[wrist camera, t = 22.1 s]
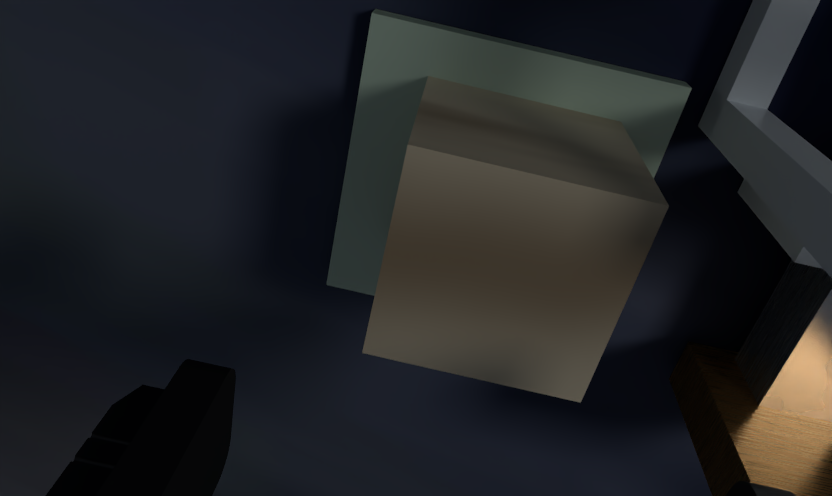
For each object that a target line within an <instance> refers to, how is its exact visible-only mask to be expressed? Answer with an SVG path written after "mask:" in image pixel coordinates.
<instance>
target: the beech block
mask: <svg viewBox="0 0 832 496" xmlns="http://www.w3.org/2000/svg"><path fill="white" fill-rule="evenodd" d="M668 207H669V205H668V203H667V201H666V200H665V198H664V196H663V194H662V193H661V191H660V189H659V187H658V186H657V184H656V182H655V180H654V179H653V177H652V175H651V173H650V172H649V170H648V168H647V166H646V165H645V163H644V161H643V159H642V158H641V156H640V154H639V152H638V151H637V149H636V147H635V145H634V144H633V142H632V140H631V138H630V137H629V135H628V133H627V131H626V130H625V128H624V126H623V124H622V122H620V121H616V120H611V119H607V118H603V117H599V116H595V115H590V114H586V113H582V112H578V111H574V110H569V109H565V108H561V107H557V106H553V105H548V104H544V103H540V102H536V101H532V100H527V99H523V98H519V97H515V96H511V95H506V94H502V93H498V92H494V91H490V90H485V89H481V88H477V87H473V86H469V85H464V84H460V83H456V82H452V81H448V80H443V79H439V78H435V77H431V76H428V78H427V82H426V85H425V88H424V92H423V95H422V98H421V102H420V105H419V108H418V112H417V115H416V118H415V122H414V125H413V128H412V132H411V135H410V138H409V142H408V145H407V150H406V155H405V159H404V164H403V168H402V173H401V177H400V182H399V187H398V191H397V196H396V200H395V205H394V210H393V214H392V219H391V223H390V228H389V232H388V237H387V242H386V246H385V251H384V255H383V260H382V265H381V269H380V274H379V278H378V283H377V287H376V292H375V297H374V301H373V306H372V310H371V315H370V320H369V324H368V329H367V333H366V338H365V343H364V347H363V352H362V353H365V354H369V355H374V356H378V357H382V358H387V359H391V360H396V361H400V362H404V363H409V364H413V365H418V366H422V367H426V368H431V369H435V370H439V371H444V372H448V373H453V374H457V375H461V376H466V377H470V378H475V379H479V380H483V381H488V382H492V383H496V384H501V385H505V386H510V387H514V388H518V389H523V390H527V391H532V392H536V393H540V394H545V395H549V396H553V397H558V398H562V399H567V400H571V401H575V402H580V403H581V401H582V399H583V396H584V394H585V392H586V390H587V388H588V385H589V383H590V381H591V379H592V376H593V374H594V372H595V370H596V368H597V365H598V363H599V361H600V359H601V356H602V354H603V352H604V350H605V348H606V345H607V343H608V341H609V339H610V336H611V334H612V332H613V330H614V327H615V325H616V323H617V321H618V319H619V316H620V314H621V312H622V310H623V307H624V305H625V303H626V301H627V299H628V296H629V294H630V292H631V290H632V287H633V285H634V283H635V281H636V279H637V276H638V274H639V272H640V270H641V267H642V265H643V263H644V261H645V258H646V256H647V254H648V252H649V250H650V247H651V245H652V243H653V241H654V238H655V236H656V234H657V232H658V230H659V227H660V225H661V223H662V221H663V218H664V216H665V214H666V212H667V210H668Z"/></svg>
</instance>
